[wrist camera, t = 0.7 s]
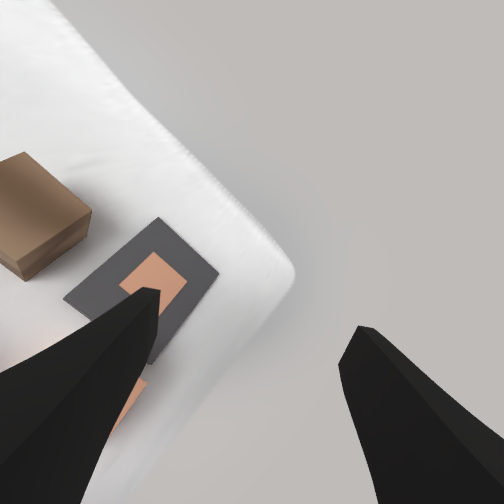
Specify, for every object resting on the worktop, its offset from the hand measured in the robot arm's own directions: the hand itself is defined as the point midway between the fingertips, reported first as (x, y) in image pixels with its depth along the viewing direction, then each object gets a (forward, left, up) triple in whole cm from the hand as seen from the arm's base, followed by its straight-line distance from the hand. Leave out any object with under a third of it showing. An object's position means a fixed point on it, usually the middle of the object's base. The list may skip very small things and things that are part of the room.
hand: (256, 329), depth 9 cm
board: (+4, +3, -15) cm, 16 cm away
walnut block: (+1, +12, -15) cm, 19 cm away
